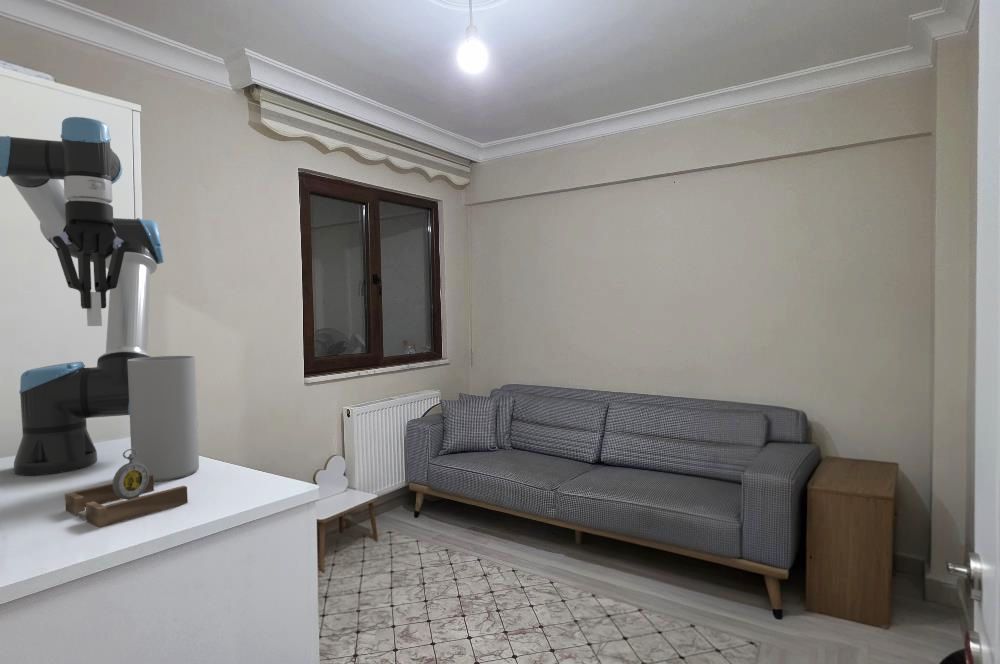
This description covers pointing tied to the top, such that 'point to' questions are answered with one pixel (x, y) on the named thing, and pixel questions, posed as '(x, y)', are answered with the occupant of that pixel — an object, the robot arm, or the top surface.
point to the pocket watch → (130, 478)
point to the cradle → (121, 503)
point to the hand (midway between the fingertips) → (94, 325)
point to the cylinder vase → (164, 415)
